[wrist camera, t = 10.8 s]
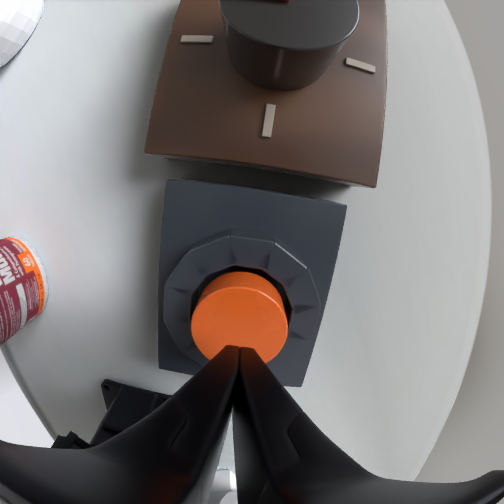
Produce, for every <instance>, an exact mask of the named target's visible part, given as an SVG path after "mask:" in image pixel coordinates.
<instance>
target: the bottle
mask: <svg viewBox="0 0 504 504" xmlns="http://www.w3.org/2000/svg"><path fill="white" fill-rule="evenodd" d="M43 8H44V0H0V67H2V66H3V65H5V64H6V63H7V62H9V61H10V60H11V59H12V58H13V57H14V56H15V55H16V54H17V53H18V51H19V50H20V49H21V48H22V47H23V45H24V44H25V43H26V41H27V40H28V38H29V37H30V36H31V34H32V32H33V31H34V29H35V27H36V26H37V24H38V22H39V19H40V17H41V15H42V12H43Z"/></svg>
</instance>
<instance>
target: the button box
mask: <svg viewBox="0 0 504 504" xmlns="http://www.w3.org/2000/svg"><path fill="white" fill-rule="evenodd" d="M346 209H347V206H346V205H343V204H340V203H337V202H333V201H328V200H323V199H318V198H312V197H307V196H301V195H295V194H289V193H283V192H277V191H270V190H264V189H257V188H250V187H243V186H236V185H228V184H221V183H212V182H204V181H195V180H186V179H167V180H166V189H165V198H164V207H163V218H162V230H161V244H160V261H159V284H158V363H159V368H160V369H165V370H169V371H174V372H179V373H185V374H190V375H195V374H196V373H197V372H198V371H199V370H201V369H202V368H203V367H204V366H205V365H206V364H207V363H208V362H209V361H210V360H209V359H208V358H206V357H205V356H204V355H203V354H202V353H201V352H200V350H199V349H198V348H197V346H196V344H195V342H194V340H193V337H192V333H191V319H192V316H193V313H194V310H195V308H196V305H197V303H198V301H199V298H200V296H201V294H202V292H203V290H204V289H205V287H206V286H207V285H208V284H209V283H210V282H211V281H213V280H214V279H216V278H217V277H219V276H221V275H223V274H227V273H231V272H249V273H253V274H256V275H259V276H261V277H263V278H265V279H266V280H268V281H269V282H270V283H271V284H272V285H273V286H274V287H275V288H276V289H277V291H278V292H279V294H280V296H281V299H282V302H283V306H284V310H285V314H286V318H287V324H288V334H287V338H286V342H285V344H284V346H283V348H282V349H281V350H280V352H279V353H278V354H277V355H276V356H275V357H274V358H273V359H272V360H270V361H269V362H267V363H265V364H266V365H267V366H268V368H269V369H270V370H271V371H272V373H273V374H274V375H275V377H276V378H277V379H278V380H279V382H280V383H281V384H282V385H283V386H292V387H301V386H302V383H303V380H304V377H305V374H306V371H307V368H308V365H309V361H310V358H311V355H312V352H313V348H314V345H315V341H316V338H317V334H318V331H319V327H320V324H321V320H322V316H323V313H324V309H325V305H326V301H327V297H328V293H329V289H330V285H331V281H332V277H333V272H334V268H335V264H336V259H337V255H338V250H339V245H340V240H341V235H342V230H343V225H344V220H345V215H346Z"/></svg>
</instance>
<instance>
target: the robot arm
mask: <svg viewBox="0 0 504 504" xmlns="http://www.w3.org/2000/svg"><path fill="white" fill-rule="evenodd" d="M101 387H102V391H103V396H104V400H105V404H106V408H107V412H106V414H105V416H104V418H103V420H102V421H101V423H100V425H99V427H98V429H97V431H96V433H95V435H94V436H93V438H92V440H91V442H90V444H88V443H87V442H85V441H84V440H82V439H81V438H79V437H78V435H77V434H75V433H74V432H72V431H70V432H69V434H68V435H67V436H66V437H65V436H61V435H58V437H57V439H56V440H55V442H54V443H53V445H52V447H51V448H42V447H33V446H24V445H17V444H12V443H7V442H5V441H2V440H0V504H207V502H208V499H209V495H210V492H211V488H212V485H213V481H214V477H215V474H216V470H217V466H218V463H219V459H220V455H221V452H222V448H223V444H224V440H225V437H226V433H227V429H228V425H229V421H230V417H231V413H232V420H233V439H234V456H235V472H236V486H237V500H238V504H496V503H497V502H499V501H500V500H501V499H502V498H503V497H504V470H495V471H491V472H489V473H487V474H485V475H483V476H481V477H479V478H477V479H474V480H471V481H467V482H460V483H424V482H411V481H400V480H392V479H385V478H381V477H378V476H376V475H374V474H372V473H370V472H368V471H367V470H366V469H364V468H363V467H362V466H360V465H359V464H358V463H357V462H355V461H354V460H353V459H352V458H351V457H350V456H348V455H347V454H346V453H345V452H344V451H342V450H341V449H340V448H339V447H338V446H337V445H336V444H334V443H333V442H332V441H331V440H330V439H329V438H328V437H327V436H326V435H325V434H324V433H323V432H322V431H321V430H320V429H319V428H318V427H317V426H316V425H315V424H314V423H313V422H312V420H311V419H310V418H309V417H308V416H307V415H306V413H305V412H303V410H302V409H301V408H300V406H299V405H298V404H297V403H296V401H295V400H294V399H293V398H292V397H291V395H290V394H289V393H288V392H287V390H286V389H285V388H284V387H283V385H282V384H281V383H280V382H279V380H278V379H277V378H276V377H275V375H274V374H273V373H272V371H271V370H270V369H269V368H268V366H267V365H266V364H265V362H264V361H263V360H262V359H261V357H260V356H259V355H258V353H257V352H256V351H255V349H254V348H250V347H241V348H240V347H239V346H234V345H226V346H225V347H224V348H223V349H222V350H221V351H220V352H219V353H217V354H216V355H215V356H214V357H213V358H212V359H211V360H210V361H209V362H208V363H207V364H206V365H205V366H204V367H203V368H202V369H201V370H199V371H198V372H197V373H196V374H195V375H194V376H193V377H192V378H191V379H190V380H189V381H188V382H186V383H185V384H184V385H183V386H182V387H181V388H180V389H179V390H178V391H177V392H175V393H174V394H173V395H172V396H170V395H165V394H160V393H156V392H152V391H148V390H144V389H140V388H136V387H132V386H128V385H125V384H121V383H118V382H114V381H111V380H107V379H105V380H104V381H103V382H102V384H101ZM232 407H233V409H232Z"/></svg>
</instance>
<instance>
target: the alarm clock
mask: <svg viewBox="0 0 504 504" xmlns="http://www.w3.org/2000/svg"><path fill="white" fill-rule="evenodd" d="M207 504H238V500H237V486H236V476H235V474H234V473H233V472H232V471H231V470H230V469H227V470H216V474H215V477H214V481H213V485H212V488H211V492H210V495H209V499H208V502H207Z"/></svg>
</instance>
